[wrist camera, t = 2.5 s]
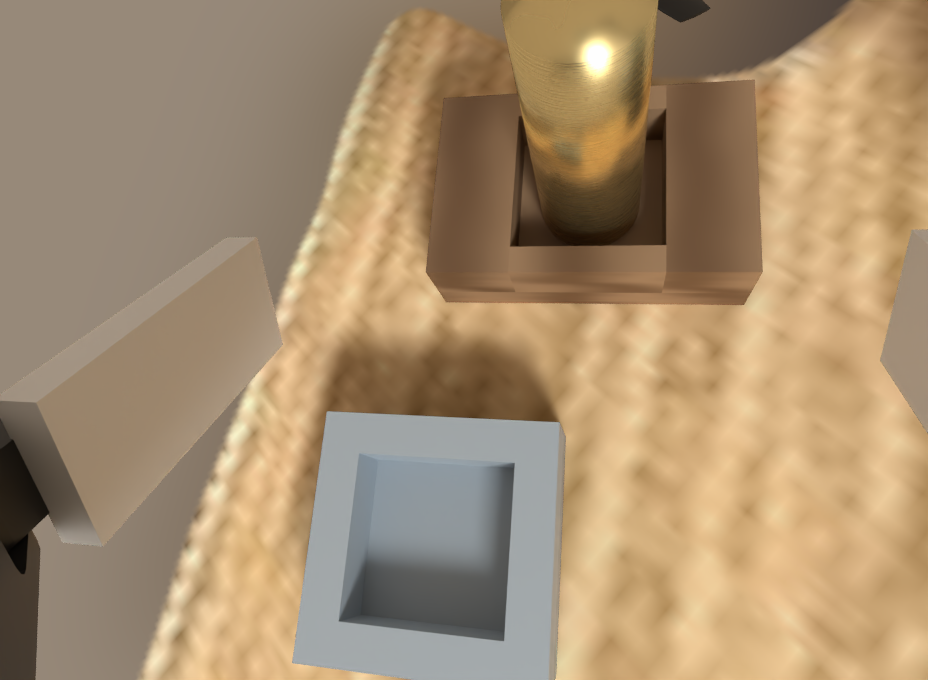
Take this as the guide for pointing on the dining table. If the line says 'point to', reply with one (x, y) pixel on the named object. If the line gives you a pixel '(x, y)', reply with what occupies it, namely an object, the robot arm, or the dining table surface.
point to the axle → (584, 108)
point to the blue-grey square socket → (435, 548)
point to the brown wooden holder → (645, 244)
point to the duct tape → (682, 8)
